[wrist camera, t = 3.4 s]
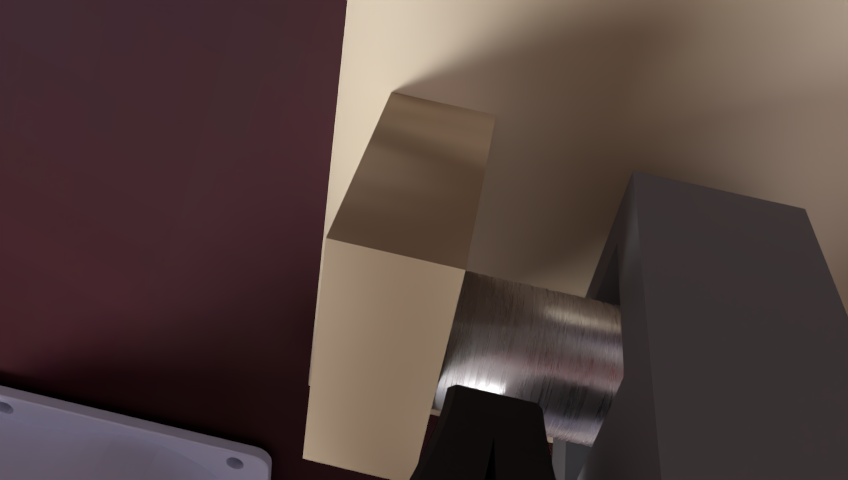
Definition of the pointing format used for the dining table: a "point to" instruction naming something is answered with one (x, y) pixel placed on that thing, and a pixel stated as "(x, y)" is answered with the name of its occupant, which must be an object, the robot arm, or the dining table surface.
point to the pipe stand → (541, 168)
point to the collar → (718, 343)
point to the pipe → (536, 352)
